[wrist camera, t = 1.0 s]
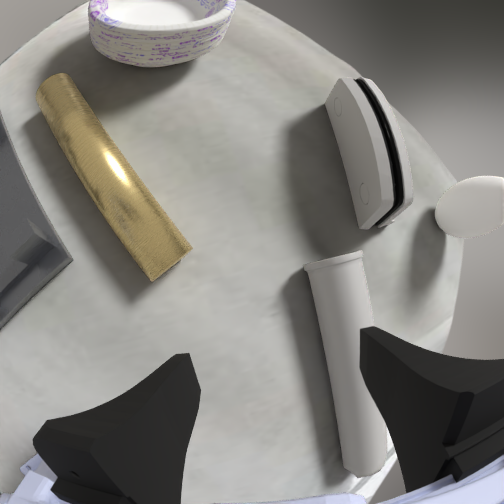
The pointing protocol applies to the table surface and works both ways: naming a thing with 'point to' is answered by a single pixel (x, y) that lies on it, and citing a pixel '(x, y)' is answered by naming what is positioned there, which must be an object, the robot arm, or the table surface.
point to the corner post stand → (23, 236)
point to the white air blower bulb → (472, 207)
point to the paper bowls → (158, 29)
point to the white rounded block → (370, 151)
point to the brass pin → (110, 179)
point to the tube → (348, 358)
